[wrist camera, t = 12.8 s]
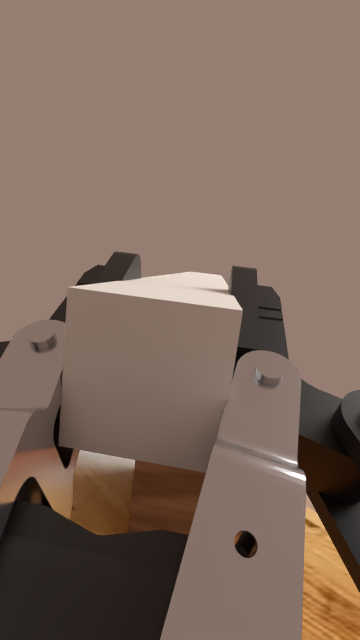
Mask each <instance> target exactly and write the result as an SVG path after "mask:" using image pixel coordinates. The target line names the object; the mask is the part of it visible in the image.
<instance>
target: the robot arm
mask: <svg viewBox="0 0 360 640" xmlns="http://www.w3.org/2000/svg"><path fill="white" fill-rule="evenodd" d="M134 279H141V261H140V256H139V255H138V254H132V253H124V252H114V253H113V255H112V256H111V258H110V259H109V260H108V262H107V264H106V265H105V266H101V265H97V266H95V267H93V268H92V269H90V270H88V271H87V272H85V273H84V274H83V276H82V277H81V279H80V280H79V281H78V282H77V284H76V285H75V286H81V285H89V284H97V283H105V282H113V281H126V280H134ZM228 291H229V293H230V295H232V296H234V297H235V298H236V300H237V302H238V303H239V305H240V307H241V308H242V310H243V314H242V320H241V326H240V333H239V339H238V345H237V352H236V358H235V365H234V371H233V377H232V384H231V390H230V396H229V399H227V402H226V406H225V409H224V413H223V416H222V420H221V424H220V427H219V431H218V435H217V438H216V440H215V443H214V446H213V450H212V453H211V457H210V460H209V464H208V468H207V471H206V475H205V479H204V482H203V486H202V489H201V493H200V497H199V500H198V504H197V508H196V511H195V515H194V518H193V522H192V526H191V529H190V533H189V535H187V534H182V533H177V532H172V531H167V530H153V531H143V532H133V533H123V534H113V535H96V534H94V533H92V532H90V531H88V530H86V529H85V528H83V527H81V526H80V525H78V524H76V523H75V522H73V521H71V520H69V519H70V514H71V509H72V501H73V476H74V470H75V466H76V462H77V458H78V454H79V449H74V448H68V447H63V446H58V443H59V426H60V409H61V401H62V375H63V357H64V340H65V323H66V306H67V297H66V298H65V299H64V301H63V302H62V303H61V305H60V306H59V307H58V309H57V310H56V311H55V313H54V314H53V315H52V316H51V318H50V319H49V320H43V321H38V322H34V323H31V324H29V325H27V326H25V327H23V328H22V329H21V330H19V331H18V332H17V333H16V334H15V335H14V336H13V338H12V339H11V341H6V342H0V640H301V638H302V605H303V572H304V539H305V507H306V505H305V503H306V493H307V495H308V497H309V499H310V501H311V502H312V504H313V506H314V508H315V510H316V512H317V514H318V516H319V517H320V519H321V521H322V523H323V525H324V527H325V529H326V531H327V532H328V534H329V536H330V538H331V540H332V542H333V544H334V546H335V547H336V549H337V551H338V553H339V555H340V557H341V559H342V561H343V562H344V564H345V566H346V568H347V570H348V572H349V574H350V576H351V577H352V579H353V581H354V583H355V585H356V587H357V589H358V590H359V592H360V390H357V391H353V392H350V393H349V394H347V395H346V396H345V397H344V399H340V398H338V397H336V396H333V395H331V394H328V393H326V392H323V391H321V390H319V389H317V388H315V387H313V386H311V385H309V384H307V383H306V382H304V381H303V380H302V379H301V376H300V373H299V371H298V369H297V368H296V367H295V365H294V364H293V363H292V362H291V361H289V359H288V351H287V344H286V337H285V330H284V323H283V316H282V312H281V310H282V309H281V302H280V297H279V296H278V295H277V293H276V292H275V291H274V290H273V288H272V287H267V286H260V285H257V270H256V269H255V268H246V267H238V266H232V270H231V276H230V281H229V287H228Z"/></svg>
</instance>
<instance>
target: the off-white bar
mask: <svg viewBox="0 0 360 640" xmlns="http://www.w3.org/2000/svg"><path fill="white" fill-rule="evenodd" d="M242 314H243V310H242V308H241V307H240V305H239V303H238V302H237V300H236V298H235V297H234V296H232V295H230V293H229V291H228V285H227V284H226V282H225V281H224V279H223V277H222V276H220V275H212V274H204V273H197V272H185V273H177V274H169V275H161V276H153V277H145V278H141V279H134V280H126V281H113V282H105V283H97V284H89V285H81V286H73V287H68V289H67V306H66V323H65V340H64V357H63V375H62V401H61V409H60V426H59V443H58V446H63V447H68V448H74V449H79V450H84V451H90V452H95V453H101V454H106V455H112V456H117V457H123V458H128V459H133V460H139V461H144V462H150V463H155V464H161V465H166V466H172V467H177V468H182V469H188V470H193V471H199V472H204V473H206V471H207V468H208V464H209V460H210V457H211V453H212V450H213V446H214V443H215V440H216V438H217V435H218V431H219V427H220V424H221V420H222V416H223V413H224V409H225V406H226V402H227V399H229V396H230V390H231V384H232V377H233V371H234V365H235V358H236V352H237V345H238V339H239V333H240V326H241V320H242Z"/></svg>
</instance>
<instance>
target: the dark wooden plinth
mask: <svg viewBox="0 0 360 640" xmlns="http://www.w3.org/2000/svg"><path fill="white" fill-rule="evenodd" d="M205 475H206V473H204V472H199V471H193V470H188V469H182V468H177V467H172V466H166V465H161V464H155V463H150V462H144V461H139V460H135V470H134V480H133V490H132V500H131V510H130V519H129V529H128V533H133V532H143V531H153V530H167V531H172V532H177V533H182V534H187V535H189V533H190V529H191V526H192V522H193V518H194V515H195V511H196V508H197V504H198V500H199V497H200V493H201V489H202V486H203V482H204V479H205Z"/></svg>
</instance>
